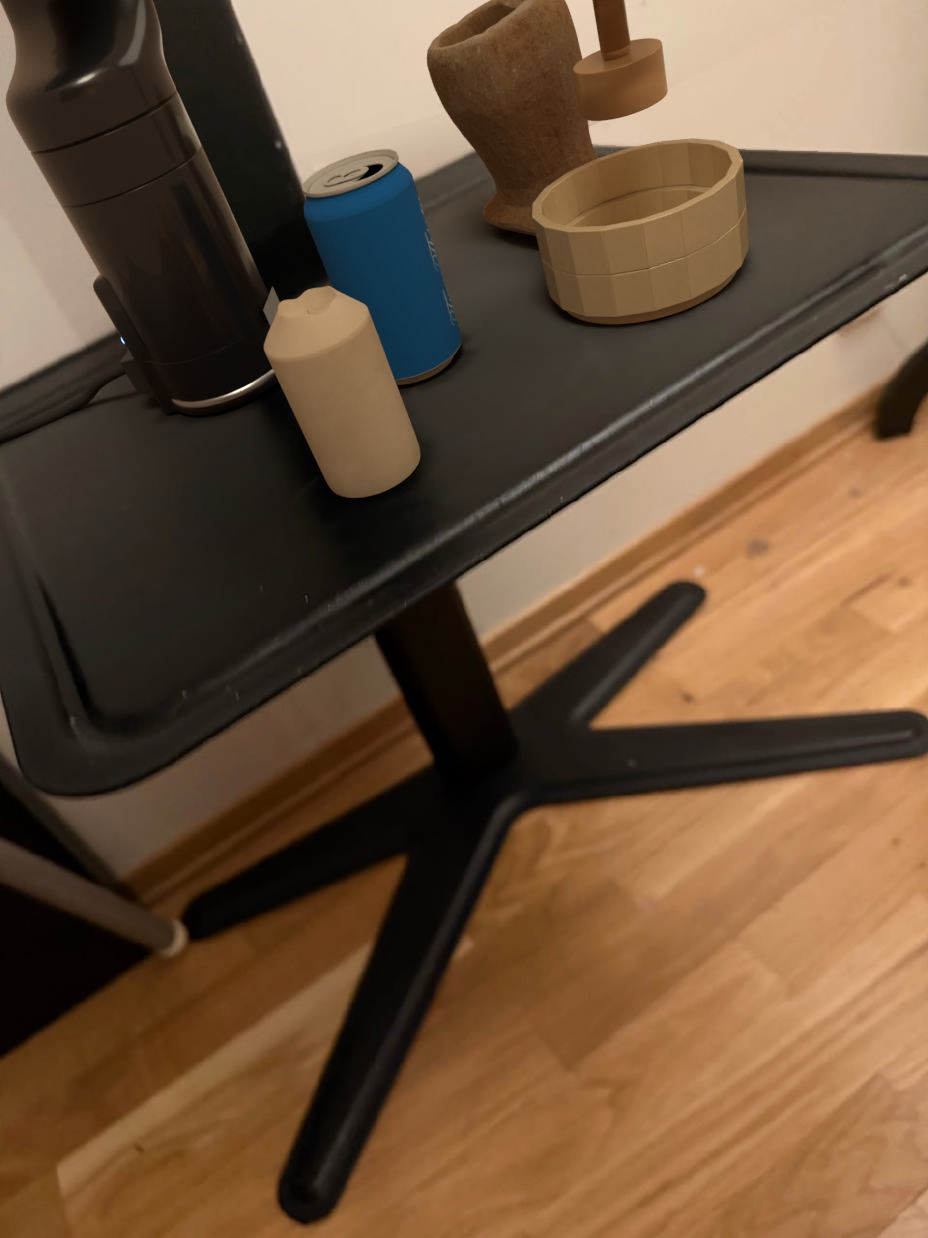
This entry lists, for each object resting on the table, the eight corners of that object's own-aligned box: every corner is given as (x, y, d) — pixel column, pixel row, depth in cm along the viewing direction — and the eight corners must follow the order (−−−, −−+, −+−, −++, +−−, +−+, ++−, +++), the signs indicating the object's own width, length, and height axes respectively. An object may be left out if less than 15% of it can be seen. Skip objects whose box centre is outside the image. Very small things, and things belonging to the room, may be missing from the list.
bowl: (553, 348, 54) (530, 251, 50) (552, 262, 63) (532, 174, 59) (764, 299, 51) (758, 192, 47) (732, 216, 60) (724, 120, 56)
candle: (385, 505, 47) (310, 330, 40) (309, 493, 50) (228, 328, 43) (440, 443, 50) (379, 271, 43) (365, 435, 53) (297, 272, 46)
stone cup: (449, 243, 71) (385, 27, 61) (569, 178, 73) (526, -39, 63) (562, 283, 60) (507, 28, 50) (698, 206, 62) (670, -51, 52)
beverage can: (464, 376, 54) (400, 173, 47) (364, 401, 56) (285, 207, 48) (466, 327, 59) (408, 135, 51) (374, 351, 60) (303, 168, 53)
